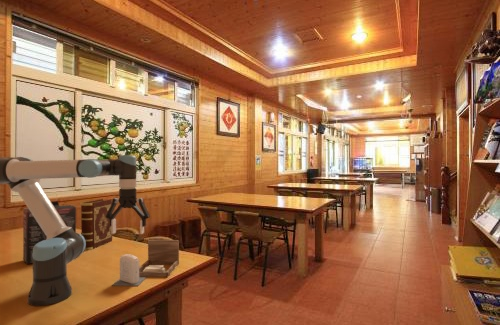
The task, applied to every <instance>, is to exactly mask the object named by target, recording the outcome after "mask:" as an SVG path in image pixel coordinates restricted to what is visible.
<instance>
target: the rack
mask: <svg viewBox="0 0 500 325" xmlns="http://www.w3.org/2000/svg"><path fill="white" fill-rule="evenodd" d="M179 244H180V241H179V240H178V239H148V240H147V260H146V261H145V262H144V263H143V264H141V265H139V277H146V278H167V277H166V276H169V277H170V276H171V274H172V273H173V272H174V270H176V268H177V267H178V266H179V264H180V245H179ZM149 264H150V265H171V266H170V267H169V268H168V269H167V270H166V272H143V270H144V269H145V267H148V265H149ZM176 266H177V267H176ZM175 267H176V268H175ZM172 271H173V272H172ZM171 272H172V273H171ZM170 273H171V274H170ZM164 276H165V277H164Z"/></svg>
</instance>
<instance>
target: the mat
mask: <svg viewBox="0 0 500 325" xmlns="http://www.w3.org/2000/svg"><path fill="white" fill-rule="evenodd" d="M146 278H147V277H139V281H138V283H135V284H131V283H128V282H125V281H122V280H120V278H118V279H117V280H116V281H115V282H114V283H113V284H112V285H111V286H112V287H139V286H140V285H141V283H143V282H144V281H145V280H146Z"/></svg>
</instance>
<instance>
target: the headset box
mask: <svg viewBox="0 0 500 325" xmlns="http://www.w3.org/2000/svg"><path fill="white" fill-rule="evenodd" d="M51 203H52V204H53V206H54V207H55V209H56V211H57V212H58V214H59V215H60V217H61V218H62V220H63V221H64V223H65V225H66V226H67V227H72V228H73V230H74V232H75V233H77V231H76V230H77V228H76V227H77V225H76V224H77V221H76V220H77V217H76V216H77V213H76V211H77V207H76V206H75V205H71V204H68V205H67V204H66V205H60V204H59V201H58V200H57V201H56V200H54V201H51ZM22 211H23V216H22V218H23V222H22V224H23V227H22V228H23V232H22V233H23V235H22V236H23V240H22V241H23V251H22V252H23V253H22V255H23V257H22V260H23V262H24V263H25V264H26V265H31V264H32V265H33V257H32V253H33V248H34V246H35V245H36V244H37V243H39V242H41V241H43V240H46V239H47V236H46V235H45V233H44V232H43V230H42V229H41V227H40V226H39V224H38V222H37V221H36V219H35V218H34V216H33V215H32V213H31V212H30V210H29V208H24V209H23V210H22Z"/></svg>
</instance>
